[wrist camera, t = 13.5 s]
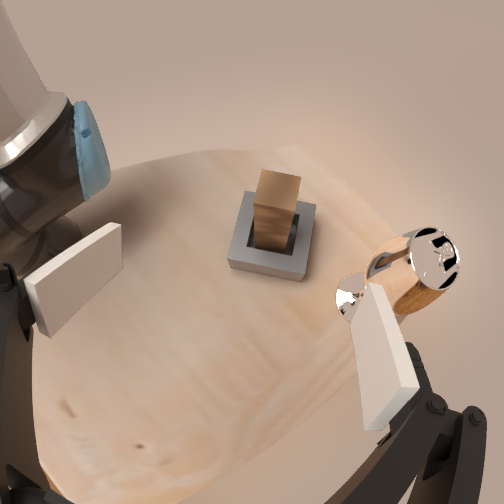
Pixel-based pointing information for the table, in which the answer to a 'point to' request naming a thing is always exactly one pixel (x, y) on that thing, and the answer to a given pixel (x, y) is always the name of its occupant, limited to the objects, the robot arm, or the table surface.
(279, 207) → the wooden block
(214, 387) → the table surface
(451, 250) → the wineglass
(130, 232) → the table surface
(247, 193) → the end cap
